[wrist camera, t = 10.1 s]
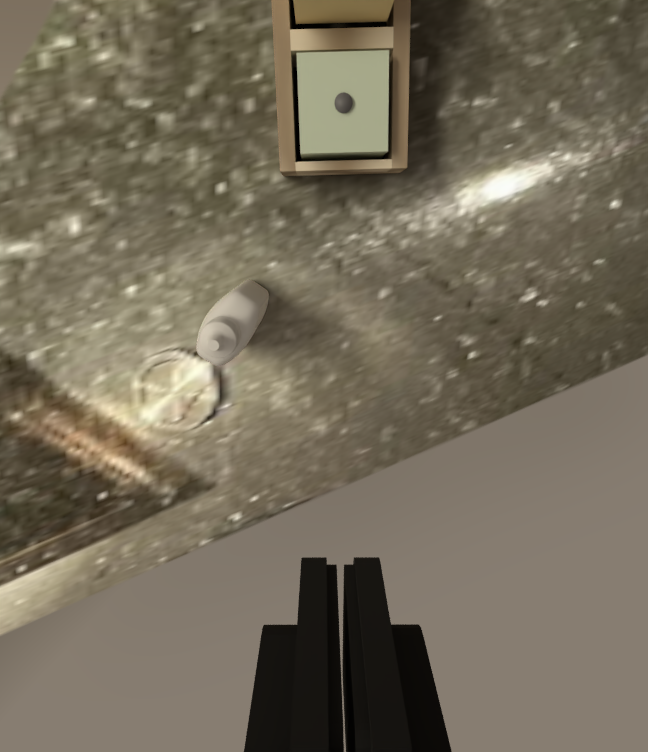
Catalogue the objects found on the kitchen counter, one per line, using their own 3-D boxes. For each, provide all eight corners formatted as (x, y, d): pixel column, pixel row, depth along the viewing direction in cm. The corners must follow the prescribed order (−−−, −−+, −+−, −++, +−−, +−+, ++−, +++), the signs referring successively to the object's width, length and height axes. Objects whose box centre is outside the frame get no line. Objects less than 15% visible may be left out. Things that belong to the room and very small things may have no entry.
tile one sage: (382, 67, 35) (389, 49, 31) (381, 158, 37) (388, 150, 33) (298, 70, 35) (296, 51, 31) (302, 160, 37) (300, 153, 33)
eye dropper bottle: (284, 319, 41) (271, 356, 30) (226, 348, 42) (192, 395, 31) (259, 272, 40) (235, 292, 29) (200, 303, 41) (154, 334, 29)
